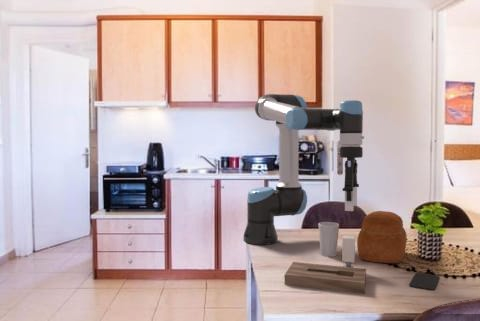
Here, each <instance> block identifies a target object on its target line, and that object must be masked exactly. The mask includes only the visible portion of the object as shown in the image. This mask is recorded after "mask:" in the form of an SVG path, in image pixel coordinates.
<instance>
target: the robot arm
mask: <svg viewBox="0 0 480 321" xmlns="http://www.w3.org/2000/svg"><path fill="white" fill-rule="evenodd" d="M254 111H255V114H256V116H257V117H258V118H260V119H262V120H265V121H272V122H273V121H275V126H276V127H277V128H278V130H279V131H278V132H279V134H278V138H279V139H278V140H279V146H278V147H279V148H278V151H279V152H278V154H279V155H278V156H279V157H278V158H279V159H278V162H279V164H278V165H279V166H278V167H279V171H278V176H279V177H278V178H279V179H278V180H279V181H278V182H277V184H276V185H275V189H274V187H272V186H261V187H255V188H252V189H250V190H249V191H248V193H247V199H246V202H247V203H246V204H247V223H246V227H245V230H244V232H243V239H242V240H243V242H244V243H246V244H251V245H257V246H258V245H260V246H261V245H272V244H276V243H278V240H279V239H278V233H277V229H276V227H275V223H274V222H275V217H282V216H290V217H291V216H297V215H301V214H302V213H304V211H305V210H306V207H307V203H308V196H307V191H306V190H304V189H303V186H302V184H301V183H300V181H299V131H305V130H307V131H308V130H309V131H312V130H315V131H328V132H329V131H333V132H334V131H338V130H339V145H340V146H341V147H339V157H340V159H341V158H342V159H346V160H345V161H344V185H343V186H344V187H342V192H344V211H345V212H354V211H355V210H354V207H357V206H358V188H359V187H360V184H359V183H358V163H357V162H358V161H357V158H358V159H359V158H363V152H364V151H363V146H362V145H363V140H364V139H365V136H363V122H364V121H363V120H364V119H363V118H364V116H363V114H364V111H363V101H360V100H357V99H356V100H350V99H349V100H343V101H340V103H339V108H308V106H307V102H306V100H305V98H304V97H302V96H300V95H297V94H275V93H269V94H264V95H262V96H260V97H259V98H258V99H257V101H256V102H255V105H254Z"/></svg>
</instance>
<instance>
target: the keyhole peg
mask: <svg viewBox="0 0 480 321" xmlns="http://www.w3.org/2000/svg"><path fill="white" fill-rule="evenodd" d="M341 242H342V244H341V245H342V246H341V247H342V248H341V249H342V253H341V254H342V255H341V262H345V264H343V266H342V267H352V268H355V267H354V266H353V265H352V263H355V259H356V235H355V236H353V235H343V236H342V241H341Z"/></svg>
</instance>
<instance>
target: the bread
mask: <svg viewBox="0 0 480 321" xmlns="http://www.w3.org/2000/svg"><path fill="white" fill-rule="evenodd" d="M407 239H408V238H407V232H406V230H405V228H404V221H403V219H402V217H401V216H400V215H398V214H397V213H394V212H392V211H387V210H386V211H383V210H376V211H372V212H370V213H368V214H367V215H365V216H364V218H363V221H361V229H360V230H359V232H358V236H357V240H356V245H357V246H356V248H357V253H358V257H359V259H361V260H363V261H366V262H372V263H379V264H398V263H399V264H400V263H401V262H402V261H403V260H404V258H405V254H406V249H407Z"/></svg>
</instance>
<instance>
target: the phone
mask: <svg viewBox="0 0 480 321" xmlns="http://www.w3.org/2000/svg"><path fill="white" fill-rule="evenodd" d="M439 281H440V276H439V275H437V274H431V273H430V274H429V273H424V272H416V273H414V276H413V278H412V279H411V281H410V283H409V284H408V286H409V287H410V288H414V289H420V290H425V291H433V292H434V291H436V288H437V286H438V282H439Z"/></svg>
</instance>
